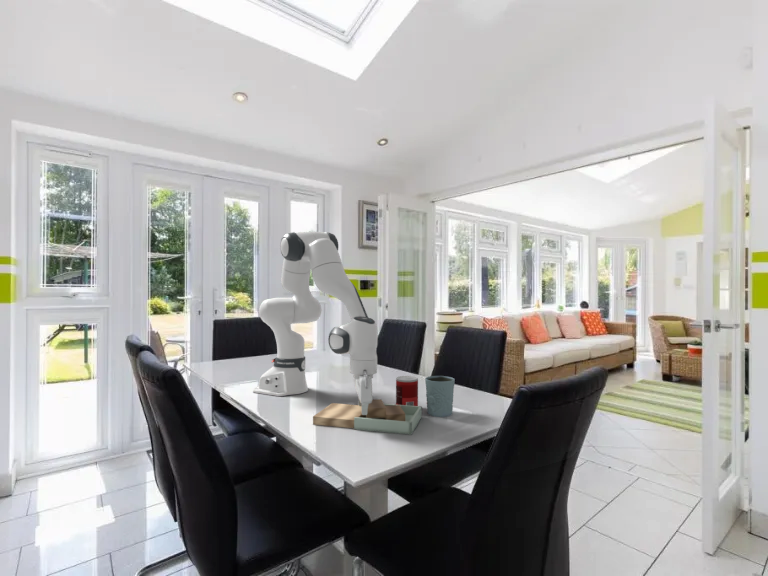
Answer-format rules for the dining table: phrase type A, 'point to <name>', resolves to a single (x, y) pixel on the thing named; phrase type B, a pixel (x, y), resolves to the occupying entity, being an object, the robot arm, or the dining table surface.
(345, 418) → the board
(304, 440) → the dining table surface
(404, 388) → the canned food
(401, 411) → the tile
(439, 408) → the teal plant pot
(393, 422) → the tray
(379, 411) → the tile
